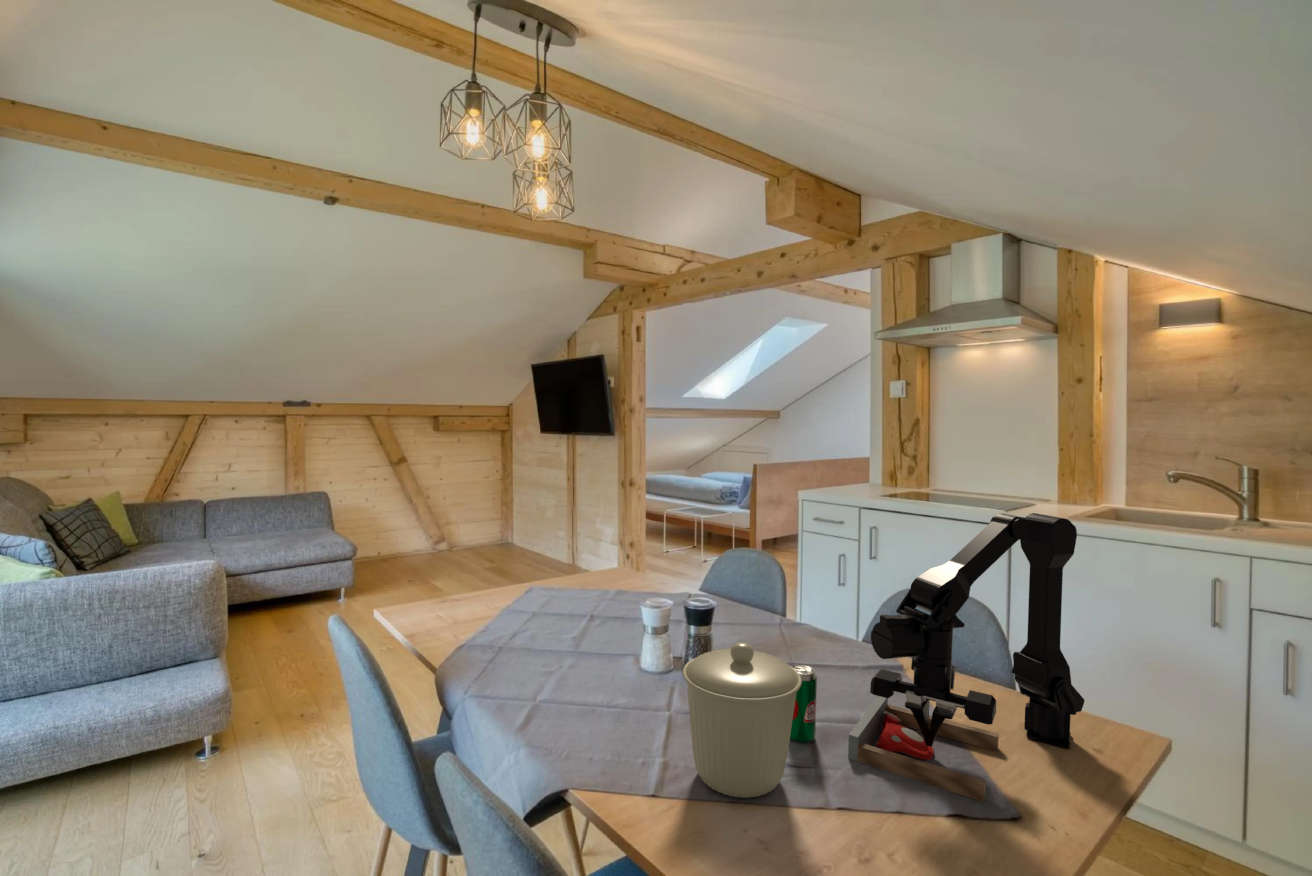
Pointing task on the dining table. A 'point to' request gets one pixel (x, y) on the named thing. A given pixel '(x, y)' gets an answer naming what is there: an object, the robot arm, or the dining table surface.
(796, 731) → the soda can
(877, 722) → the end stop
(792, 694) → the canister
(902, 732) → the tracker holder
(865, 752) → the walnut channel
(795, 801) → the dining table surface
